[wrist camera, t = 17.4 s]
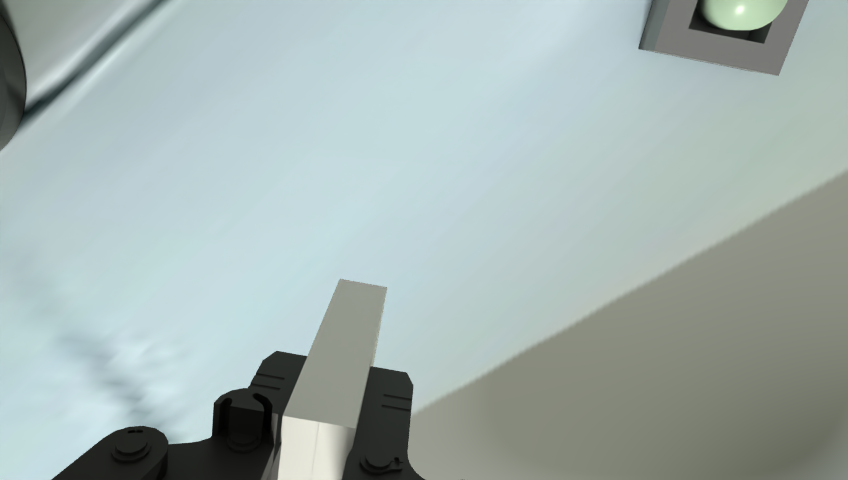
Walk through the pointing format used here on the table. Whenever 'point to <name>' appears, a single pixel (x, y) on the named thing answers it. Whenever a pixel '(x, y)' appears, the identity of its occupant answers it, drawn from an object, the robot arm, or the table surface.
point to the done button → (739, 13)
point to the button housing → (721, 37)
